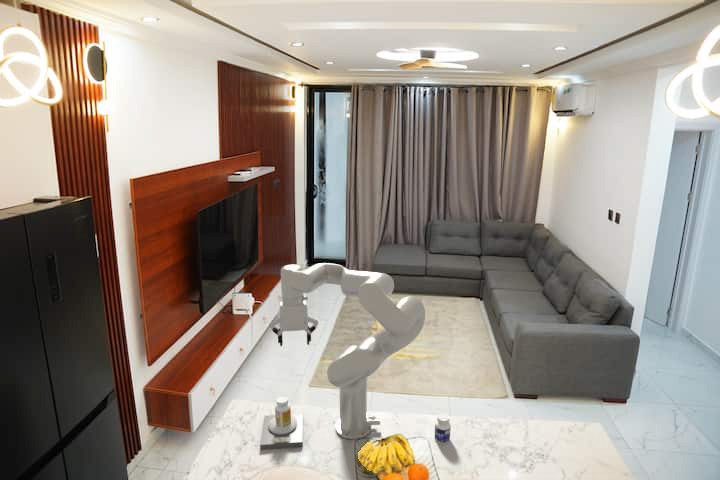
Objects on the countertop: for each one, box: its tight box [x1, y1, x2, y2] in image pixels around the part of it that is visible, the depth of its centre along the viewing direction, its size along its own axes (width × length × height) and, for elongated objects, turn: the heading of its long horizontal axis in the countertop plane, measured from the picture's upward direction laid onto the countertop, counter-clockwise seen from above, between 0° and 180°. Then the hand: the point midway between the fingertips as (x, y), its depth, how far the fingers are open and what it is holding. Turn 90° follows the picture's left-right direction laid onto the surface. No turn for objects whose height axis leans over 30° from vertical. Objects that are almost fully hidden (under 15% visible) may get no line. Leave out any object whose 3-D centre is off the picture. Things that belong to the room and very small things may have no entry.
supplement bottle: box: [274, 396, 292, 428], centre depth 173 cm, size 5×5×10 cm
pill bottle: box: [434, 413, 452, 445], centre depth 169 cm, size 5×5×9 cm
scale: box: [259, 412, 304, 451], centre depth 173 cm, size 14×16×3 cm
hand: (294, 343), depth 178 cm, fingers open, 9 cm apart
